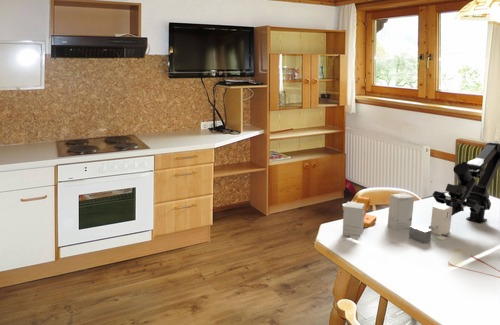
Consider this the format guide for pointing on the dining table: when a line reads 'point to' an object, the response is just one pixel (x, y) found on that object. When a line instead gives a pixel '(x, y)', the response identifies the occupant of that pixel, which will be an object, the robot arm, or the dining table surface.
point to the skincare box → (400, 211)
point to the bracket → (368, 219)
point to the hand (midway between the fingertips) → (445, 217)
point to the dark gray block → (420, 234)
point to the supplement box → (353, 218)
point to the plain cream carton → (441, 219)
